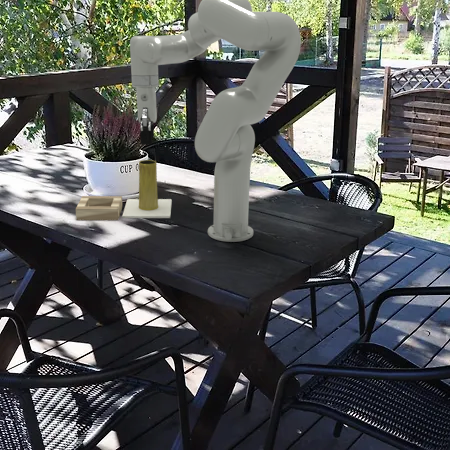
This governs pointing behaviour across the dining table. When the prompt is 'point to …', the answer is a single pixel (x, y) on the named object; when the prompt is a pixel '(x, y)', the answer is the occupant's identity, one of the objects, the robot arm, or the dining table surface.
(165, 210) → the board
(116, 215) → the holder
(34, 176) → the dining table surface
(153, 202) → the vase
